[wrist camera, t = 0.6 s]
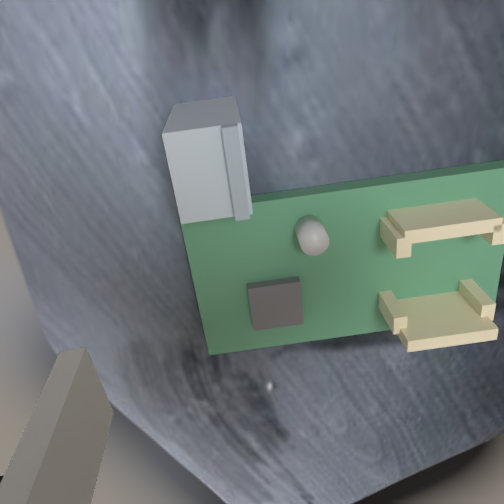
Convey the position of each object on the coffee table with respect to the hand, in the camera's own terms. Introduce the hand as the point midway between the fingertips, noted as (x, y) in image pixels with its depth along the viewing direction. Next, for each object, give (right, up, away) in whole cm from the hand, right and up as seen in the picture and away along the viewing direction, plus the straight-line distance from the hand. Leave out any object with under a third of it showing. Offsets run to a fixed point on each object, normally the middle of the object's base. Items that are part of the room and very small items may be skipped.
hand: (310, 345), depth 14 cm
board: (+6, +2, +22) cm, 23 cm away
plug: (-5, +11, +17) cm, 21 cm away
